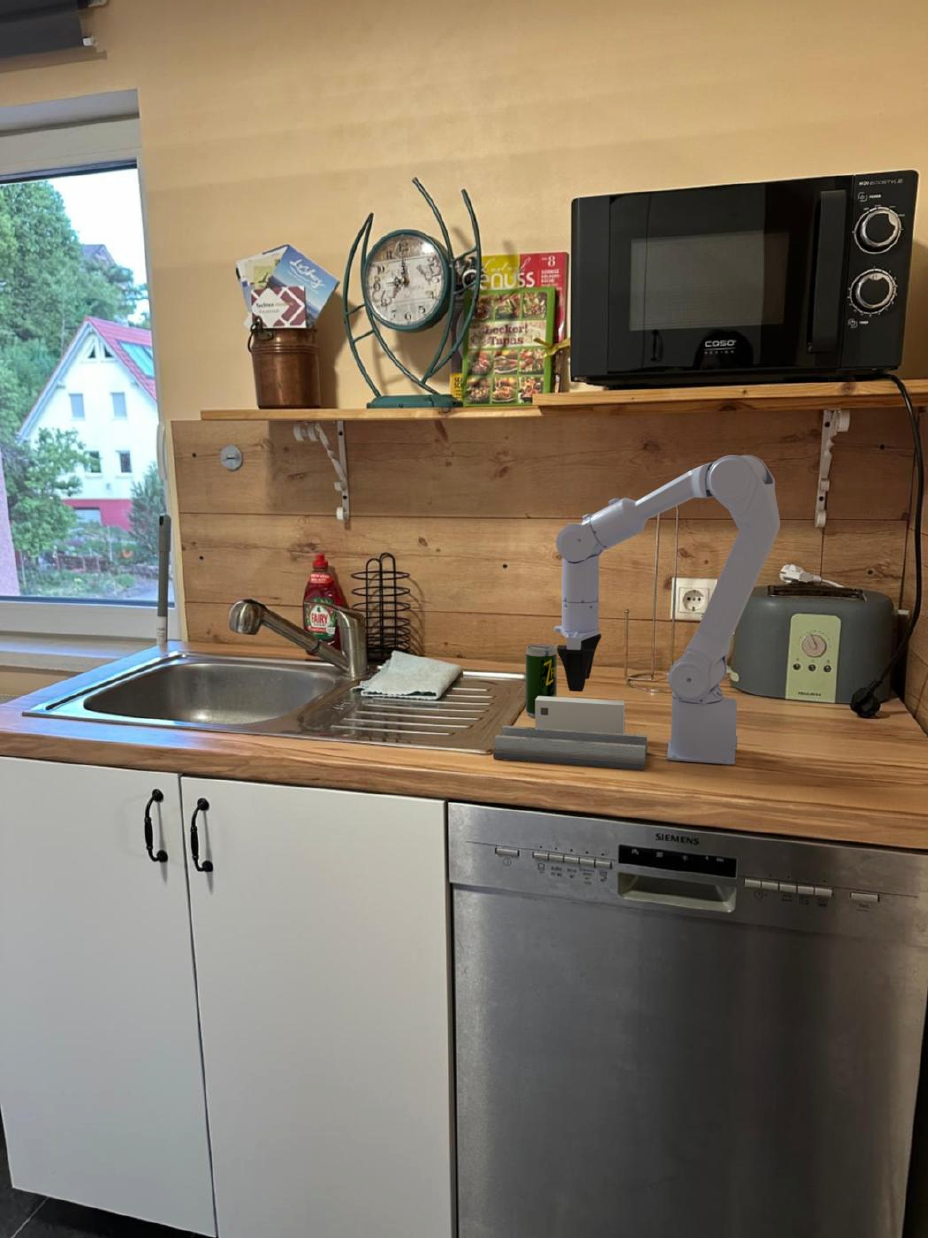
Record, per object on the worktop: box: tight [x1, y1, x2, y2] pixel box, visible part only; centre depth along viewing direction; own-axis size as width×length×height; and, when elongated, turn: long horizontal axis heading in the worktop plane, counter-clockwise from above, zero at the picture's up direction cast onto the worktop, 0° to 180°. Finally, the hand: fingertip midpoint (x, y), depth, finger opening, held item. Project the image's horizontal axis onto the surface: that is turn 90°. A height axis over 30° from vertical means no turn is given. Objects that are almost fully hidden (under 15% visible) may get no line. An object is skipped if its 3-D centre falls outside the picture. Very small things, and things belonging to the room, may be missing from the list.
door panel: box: [534, 696, 626, 733], centre depth 133 cm, size 14×2×6 cm, turn 75°
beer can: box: [525, 643, 558, 719], centre depth 144 cm, size 5×5×12 cm
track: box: [492, 724, 648, 771], centre depth 125 cm, size 22×8×3 cm, turn 75°
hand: (579, 684), depth 132 cm, fingers open, 7 cm apart
